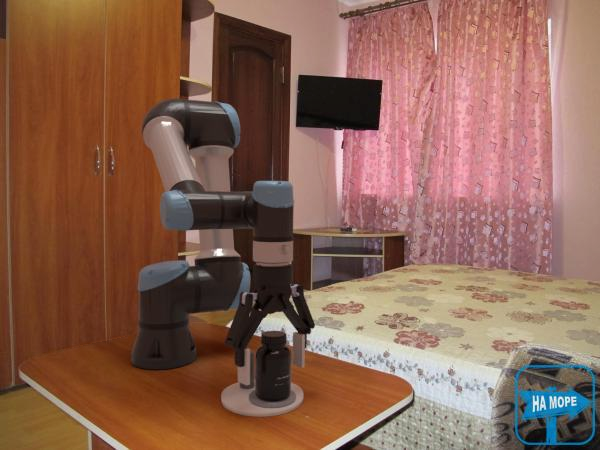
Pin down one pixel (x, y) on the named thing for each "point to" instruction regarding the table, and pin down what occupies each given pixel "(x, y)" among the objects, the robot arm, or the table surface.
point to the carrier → (248, 404)
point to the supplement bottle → (273, 367)
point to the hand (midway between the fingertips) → (272, 374)
